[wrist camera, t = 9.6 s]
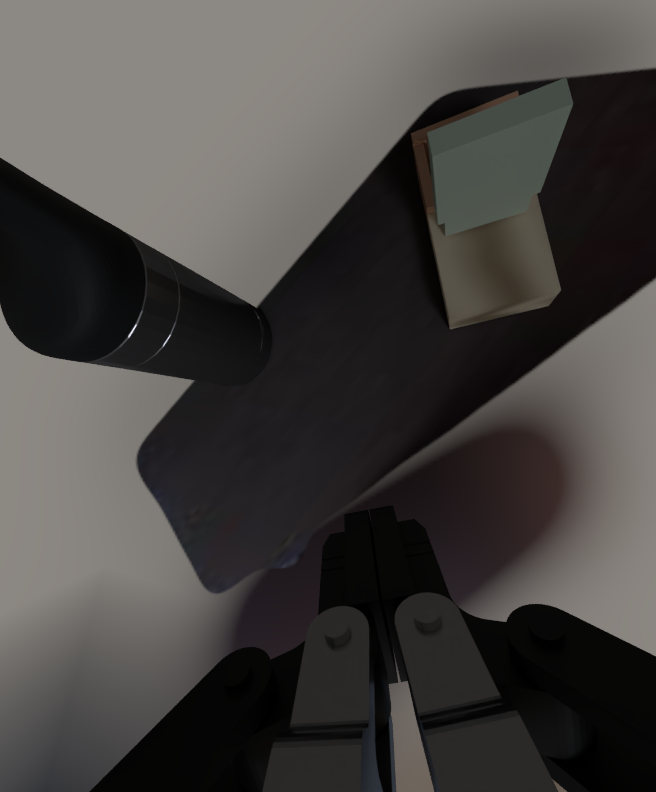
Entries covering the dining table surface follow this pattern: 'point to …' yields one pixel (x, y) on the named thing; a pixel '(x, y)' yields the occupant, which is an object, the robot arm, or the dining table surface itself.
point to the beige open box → (495, 267)
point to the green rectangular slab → (496, 157)
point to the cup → (423, 151)
